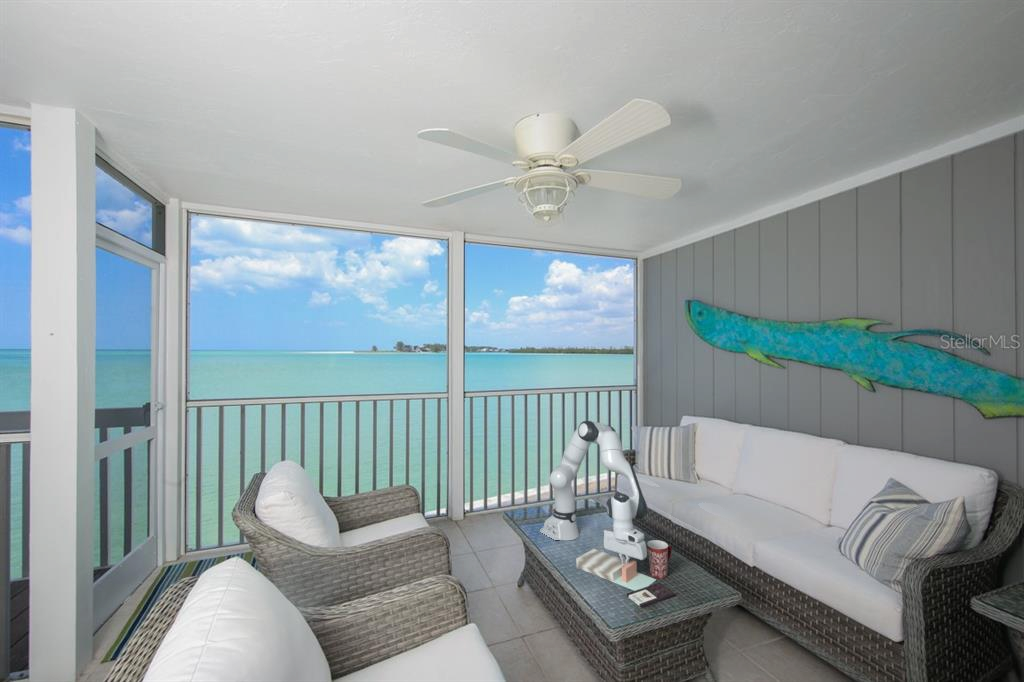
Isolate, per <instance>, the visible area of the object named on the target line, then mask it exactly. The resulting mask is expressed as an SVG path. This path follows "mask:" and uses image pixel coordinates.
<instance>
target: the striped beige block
mask: <svg viewBox="0 0 1024 682" xmlns="http://www.w3.org/2000/svg"><path fill="white" fill-rule="evenodd" d="M575 561H576V565H575V566H576V569H579V570H583V571H584V572H587V573H590V574H592V575H595V576H597V577H599V578H602V579H605V580H607V581H610V582H611V581H615V580H616V579H618V578H619V577H620V576H622V567H624V566H625V565H626V564H622V560H621V558H620V557H617V556H615V555H613V554H610V553H606V552H604V551H601V550H599V549H595V548H592V549H591V550H589V551H587V552H585V553H584V554H582V555H580V556H579V557H576V558H575Z"/></svg>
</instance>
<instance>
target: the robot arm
mask: <svg viewBox="0 0 1024 682" xmlns="http://www.w3.org/2000/svg"><path fill="white" fill-rule="evenodd" d="M592 444H598V445H599V453H600V459H601V460H600V461H601V463H602V465H603V466H604V468H606V469H607V470H608V471H611V472H612V473H615V474H619V475H621V476H624V477H625V478H626V479H627V481H628V484H629V487H630V490H631V496H629V495H627V494H625V493H615V494H614V495H613V496H611V497H610V498H608V499H607V500H606V514H607V516H608V517H609V518H610V519H612V520H613V523H612V528H608V527H606V528H604V529H603V535H604V536H603V547H604V549H605V550H608V551H610V552H615V553H617V554H619V555H618V556H619V558H621V560H622V564H626V565H628V564H629V562H630V559H631V558H634V559H637V560H640V561H643V560H645V559H646V558H647V556H648V548H647V543H646V541H645V540H644V539H645V534H644V533H642V532H641V531H639V530H638V529H636V528H635V527H634V524H633V519H635V520H642V519H644V518H645V517H646V516H647V514H648V504H647V502H646V499H645V497H644V494H643V492H642V490H641V486H640V483H639V481H638V477H637V474H636V472H635V469H634V466H633V464H632V462H630V461H628V460H627V459H626V457H625V455H624V451H623V445H622V441H621V439H620V436H619V433H618V432H616V429H615V428H614V427H613V426H611V425H609V424H604V423H602V422H595V421H591V420H584V421H582V422H580V423H579V425H578V426H577V428H576V429H575V430H574V432H573V433H572V435H571V436H570V439H569V441H568V442H567V444H566V447H565V449H564V451H563V455H562V458H561V461H560V462H559V464H558V465H557V466H556V467H555V468H554V469H553V470H552V471H551V473H550V476H549V482H550V484H551V486H552V489H553V494H554V508H553V509H551V511H550V512H551V513H552V515H551V516H549V517H548V518H547V519H545V521H544V524H543V526H542V527H541V528H540V529H539V533H540V532H541V533H540V534H542V533H543V534H542V535H544V534H545V535H544V536H546V535H547V536H546V537H548V538H549V537H550V538H549V539H551V538H552V539H551V540H553V539H554V541H555V540H560V541H573V540H576V539H578V538H579V537H580V533H579V530H578V525H577V509H576V495H575V493H574V490H573V485H572V484H573V483H572V482H573V481H574V480H575V479H576V477H577V475H578V472H579V470H580V468H581V465H582V464H583V460H584V459H585V456H586V455H587V452H588V450H589V449H590V446H591V445H592Z"/></svg>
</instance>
